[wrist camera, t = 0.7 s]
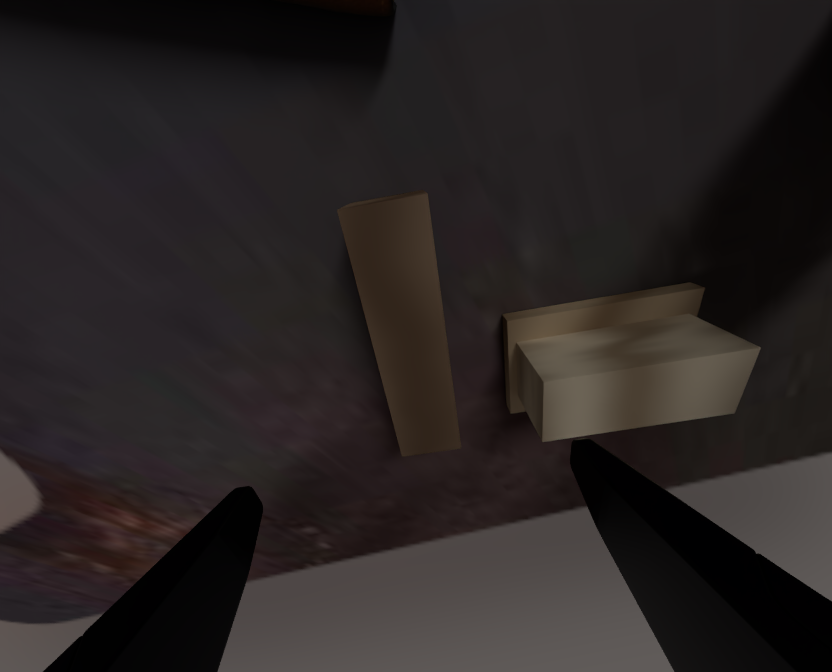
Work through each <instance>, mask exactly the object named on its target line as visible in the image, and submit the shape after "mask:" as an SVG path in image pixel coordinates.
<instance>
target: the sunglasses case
mask: <svg viewBox="0 0 832 672" xmlns="http://www.w3.org/2000/svg"><path fill="white" fill-rule="evenodd" d="M271 1H278V2H284V3H291V4H297V5H303V6H308V7H313V8H317V9H322V10H327V11H332V12H340V13H351V14H358V15H367V16H383V17H385V16H391V15H393V14H394V12H395V10H396V6H397V5H396V3H395V2H394V0H271Z"/></svg>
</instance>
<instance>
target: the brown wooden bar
mask: <svg viewBox="0 0 832 672" xmlns="http://www.w3.org/2000/svg"><path fill="white" fill-rule="evenodd" d="M337 212H338V215H339V219H340V223H341V227H342V231H343V234H344V238H345V242H346V246H347V250H348V253H349V257H350V261H351V265H352V269H353V272H354V276H355V280H356V284H357V288H358V291H359V295H360V299H361V303H362V307H363V310H364V314H365V318H366V322H367V326H368V329H369V333H370V337H371V341H372V345H373V348H374V352H375V356H376V360H377V364H378V367H379V371H380V375H381V379H382V383H383V387H384V390H385V394H386V398H387V402H388V406H389V409H390V413H391V417H392V421H393V425H394V428H395V432H396V436H397V440H398V444H399V447H400V451H401V455H402V457H404V456H411V455H418V454H425V453H432V452H439V451H446V450H453V449H460V448H461V442H460V435H459V427H458V420H457V412H456V405H455V397H454V390H453V382H452V374H451V367H450V359H449V352H448V344H447V337H446V329H445V322H444V314H443V307H442V299H441V292H440V284H439V277H438V269H437V262H436V254H435V247H434V239H433V232H432V224H431V217H430V209H429V201H428V194H427V193H426V192H425V191H423V190H420V191H414V192H409V193H403V194H398V195H392V196H387V197H381V198H376V199H370V200H365V201H360V202H354V203H351V204H348V205H346V206H344V207H342V208H340V209H338V210H337Z"/></svg>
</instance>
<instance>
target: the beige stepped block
mask: <svg viewBox="0 0 832 672" xmlns="http://www.w3.org/2000/svg"><path fill="white" fill-rule="evenodd" d="M704 290H705V287H702V286H699V285H697V284H694V283H691V282H688V283H682V284H677V285H671V286H665V287H659V288H653V289H647V290H641V291H636V292H630V293H624V294H618V295H612V296H606V297H600V298H595V299H589V300H583V301H577V302H571V303H565V304H559V305H554V306H548V307H542V308H536V309H530V310H524V311H518V312H513V313H507V314H502V320H503V341H504V363H505V385H506V404H507V407H508V409H509V411H510V413H511V414H513V413H519V412H527V414H528V416H529V418H530V420H531V421H532V423H533V425H534V427H535V429H536V431H537V433H538V435H539V437H540V439H541V441H542V442H546V441H553V440H559V439H566V438H573V437H579V436H586V435H593V434H599V433H606V432H613V431H619V430H626V429H633V428H639V427H646V426H653V425H659V424H666V423H673V422H679V421H686V420H693V419H699V418H706V417H713V416H719V415H726V414H733V413H735V411H736V409H737V406H738V404H739V401H740V399H741V396H742V394H743V391H744V389H745V386H746V384H747V381H748V379H749V376H750V374H751V371H752V369H753V366H754V364H755V361H756V359H757V356H758V354H759V351H760V349H761V347H759V346H756V345H754V344H752V343H750V342H748V341H746V340H744V339H742V338H740V337H738V336H735V335H733V334H731V333H729V332H727V331H725V330H723V329H721V328H719V327H716V326H714V325H712V324H710V323H708V322H706V321H704V320H702V319H700V318H698V317H697V315H698V312H699V308H700V304H701V301H702V297H703V293H704Z"/></svg>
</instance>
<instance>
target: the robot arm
mask: <svg viewBox="0 0 832 672" xmlns="http://www.w3.org/2000/svg"><path fill="white" fill-rule="evenodd" d="M570 464H571V468H572V471H573V473H574V476H575V478H576V480H577V483H578V485H579V487H580V490H581V492H582V495H583V497H584V499H585V502H586V504H587V506H588V509H589V511H590V513H591V516H592V518H593V520H594V523H595V525H596V527H597V529H598V531H599V533H600V535H601V537H602V539H603V541H604V543H605V544H606V546H607V548H608V550H609V552H610V554H611V556H612V557H613V559H614V561H615V563H616V565H617V567H618V568H619V570H620V572H621V574H622V576H623V578H624V579H625V581H626V583H627V585H628V587H629V589H630V591H631V592H632V594H633V596H634V598H635V600H636V602H637V604H638V605H639V607H640V609H641V611H642V613H643V615H644V616H645V618H646V620H647V622H648V624H649V626H650V628H651V629H652V631H653V633H654V635H655V637H656V638H657V640H658V642H659V644H660V646H661V648H662V650H663V652H664V653H665V655H666V657H667V659H668V661H669V663H670V664H671V666H672V668H673V670H674V672H832V601H830V600H829V599H827V598H825V597H824V596H822V595H821V594H819V593H818V592H816V591H815V590H813V589H811V588H810V587H809V586H807V585H806V584H804V583H803V582H801V581H800V580H798V579H797V578H795V577H794V576H792V575H790V574H789V573H787V572H786V571H784V570H783V569H781V568H780V567H779V566H777V565H775V564H774V563H773V562H771V561H770V560H768V559H767V558H765V557H764V556H762V555H761V554H756V552H755V551H754V550H753V549H752V548H750V547H749V546H747V545H746V544H744V543H743V542H741V541H740V540H739V539H737V538H736V537H734V536H733V535H731V534H730V533H728V532H727V531H725V530H724V529H722V528H721V527H719V526H718V525H716V524H715V523H713V522H712V521H710V520H709V519H708V518H706V517H705V516H703V515H702V514H700V513H699V512H697V511H696V510H694V509H693V508H691V507H690V506H688V505H687V504H686V503H684V502H682V501H681V500H680V499H678V498H677V497H675V496H674V495H672V494H671V493H669V492H668V491H666V490H665V489H663V488H662V487H661V486H659V485H658V484H656V483H655V482H653V481H652V480H650V479H649V478H647V477H646V476H644V475H643V474H641V473H640V472H638V471H637V470H635V469H634V468H633V467H631V466H630V465H628V464H627V463H625V462H624V461H622V460H621V459H619V458H618V457H616V456H615V455H613V454H612V453H610V452H609V451H607V450H606V449H605V448H603V447H602V446H600V445H599V444H597V443H596V442H594V441H593V440H591V439H589V438H582V439H575V440H573V441H572V445H571V455H570ZM262 514H263V505H262V502H261V500H260V499H259V497H258V496H257V494H256V492H255V491H254V489H253V488H252V487H250V486H245V487H239V488H235V489H234V490H233V491H231V492H230V493H229V494H228V495H227V496H226V497H225V498H224V499H223V500H222V501H221V502H220V503H219V504H218V505H217V506H216V507H215V508H214V509H213V510H212V511H211V512H209V513H208V514H207V515H206V516H205V517H204V518H203V519H202V520H201V521H200V522H199V523H198V524H197V525H196V526H195V527H194V528H193V529H192V530H191V531H190V532H189V533H188V534H186V535H185V536H184V537H183V538H182V539H181V540H180V541H179V542H178V543H177V544H176V545H175V546H174V547H173V548H172V549H171V550H170V551H169V552H168V553H167V554H166V555H165V556H164V557H162V558H161V559H160V560H159V561H158V562H157V563H156V564H155V565H154V566H153V567H152V568H151V569H150V570H149V571H148V572H147V573H146V574H145V575H144V576H143V577H142V578H141V579H140V580H138V581H137V582H136V583H135V584H134V585H133V586H132V587H131V588H130V589H129V590H128V591H127V592H126V593H125V594H124V595H123V596H122V597H121V598H120V599H119V600H118V601H117V602H116V603H114V604H113V605H112V606H111V607H110V608H109V609H108V610H107V611H106V612H105V613H104V614H103V615H102V616H101V617H100V618H99V619H98V620H97V621H96V622H95V623H94V624H93V625H92V626H90V627H89V628H88V629H87V630H86V631H85V633H84V634H83V636H81V637H79V638H78V639H77V640H76V641H75V642H74V643H73V644H72V645H71V646H70V647H68V648H67V649H66V650H65V651H64V652H63V653H62V654H61V655H60V656H59V657H58V658H57V659H56V660H55V661H54V662H53V663H52V664H51V665H50V666H48V667H47V668H46V669H45V670H44V671H43V672H217V671H218V668H219V665H220V662H221V659H222V656H223V653H224V649H225V646H226V643H227V640H228V637H229V634H230V631H231V628H232V624H233V621H234V618H235V615H236V612H237V609H238V606H239V603H240V600H241V596H242V593H243V590H244V587H245V584H246V581H247V577H248V574H249V570H250V566H251V562H252V558H253V554H254V549H255V545H256V540H257V536H258V531H259V527H260V523H261V518H262Z"/></svg>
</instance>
